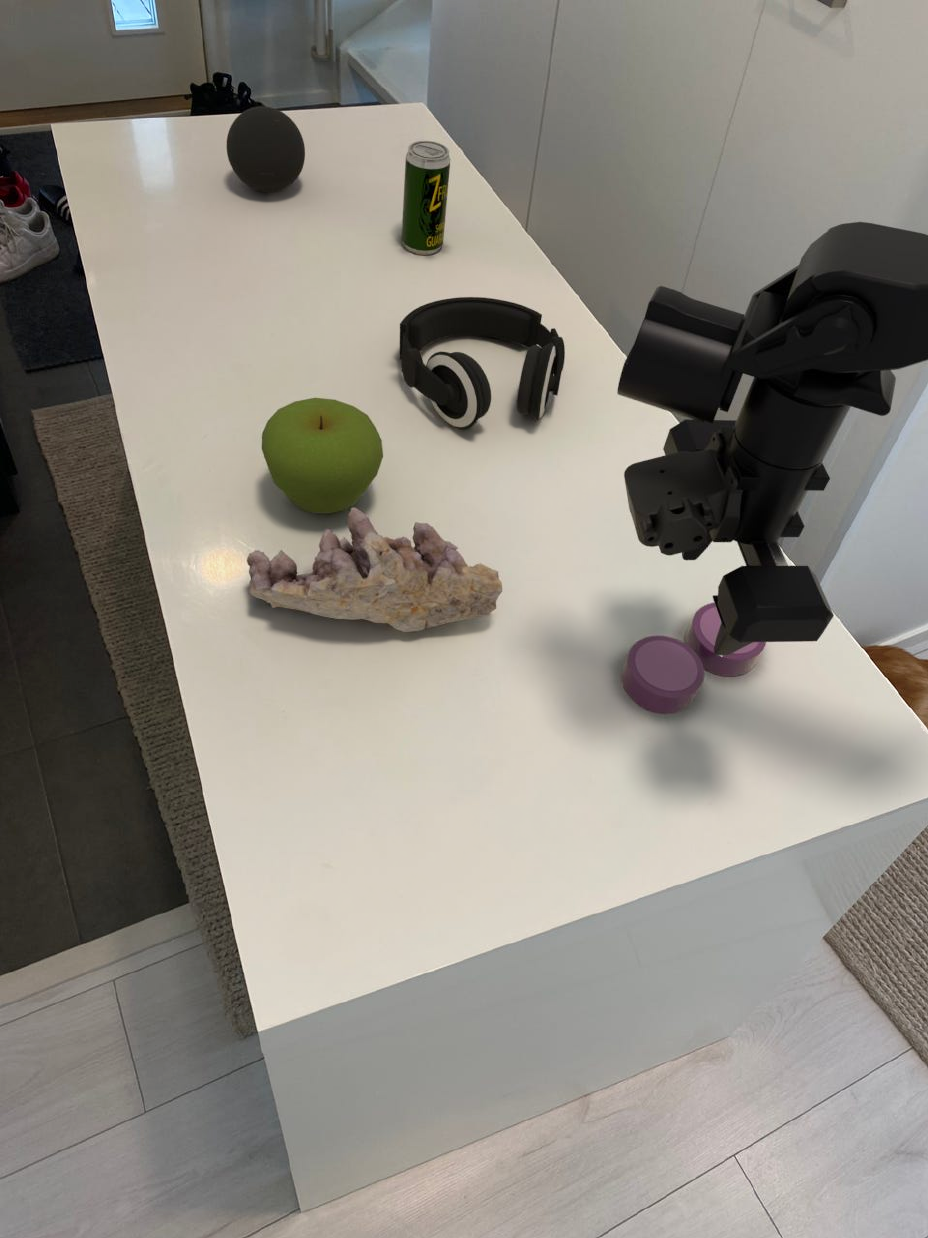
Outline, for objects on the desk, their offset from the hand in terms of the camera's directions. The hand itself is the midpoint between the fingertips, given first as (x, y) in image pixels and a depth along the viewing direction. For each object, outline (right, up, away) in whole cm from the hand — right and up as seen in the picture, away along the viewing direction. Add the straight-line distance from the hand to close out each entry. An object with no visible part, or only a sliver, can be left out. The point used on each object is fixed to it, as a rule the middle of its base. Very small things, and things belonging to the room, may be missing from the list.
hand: (704, 604), depth 69 cm
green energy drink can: (-23, +47, +51) cm, 73 cm away
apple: (-31, +10, +20) cm, 38 cm away
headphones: (-16, +25, +34) cm, 45 cm away
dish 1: (-1, -6, +9) cm, 11 cm away
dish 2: (+5, -4, +13) cm, 14 cm away
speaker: (-44, +57, +56) cm, 91 cm away
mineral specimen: (-26, 0, +12) cm, 28 cm away
